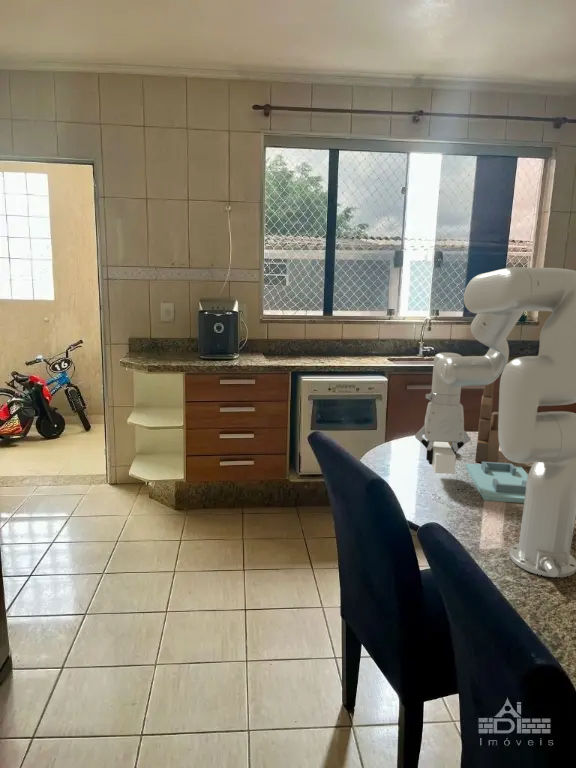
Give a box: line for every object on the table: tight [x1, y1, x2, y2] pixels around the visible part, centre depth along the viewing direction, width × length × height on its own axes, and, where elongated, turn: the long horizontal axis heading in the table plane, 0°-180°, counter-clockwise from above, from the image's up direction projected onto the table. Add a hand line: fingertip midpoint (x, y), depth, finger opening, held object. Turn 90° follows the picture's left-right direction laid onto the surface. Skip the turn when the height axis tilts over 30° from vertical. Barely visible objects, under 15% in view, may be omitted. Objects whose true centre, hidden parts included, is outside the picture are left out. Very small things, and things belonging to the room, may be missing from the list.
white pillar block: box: [431, 441, 457, 475], centre depth 155 cm, size 14×5×5 cm, turn 174°
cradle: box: [465, 462, 529, 504], centre depth 156 cm, size 24×16×3 cm, turn 174°
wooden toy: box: [475, 381, 500, 464], centre depth 177 cm, size 16×7×25 cm, turn 160°
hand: (440, 462), depth 155 cm, fingers closed on white pillar block, 5 cm apart
